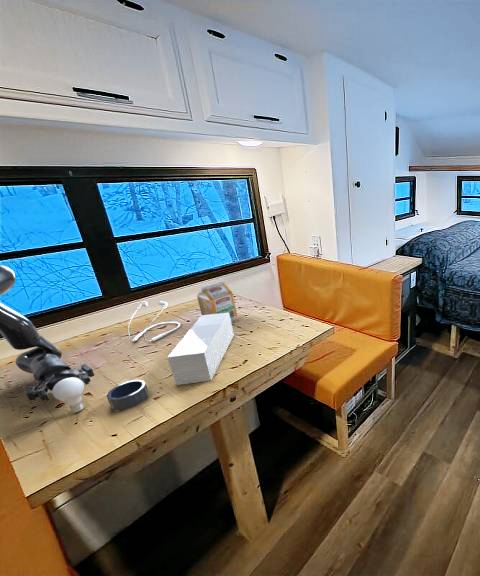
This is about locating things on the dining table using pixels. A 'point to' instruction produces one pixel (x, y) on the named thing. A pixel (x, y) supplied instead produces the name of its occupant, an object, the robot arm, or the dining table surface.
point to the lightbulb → (70, 393)
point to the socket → (127, 395)
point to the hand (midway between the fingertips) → (67, 389)
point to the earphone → (151, 322)
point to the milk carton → (217, 300)
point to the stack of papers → (201, 349)
